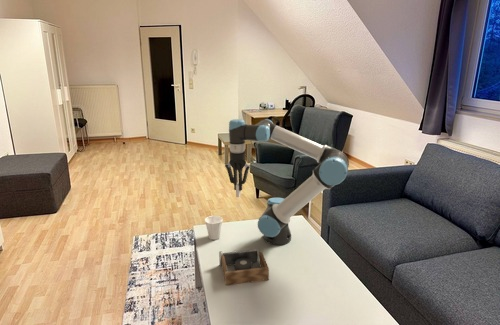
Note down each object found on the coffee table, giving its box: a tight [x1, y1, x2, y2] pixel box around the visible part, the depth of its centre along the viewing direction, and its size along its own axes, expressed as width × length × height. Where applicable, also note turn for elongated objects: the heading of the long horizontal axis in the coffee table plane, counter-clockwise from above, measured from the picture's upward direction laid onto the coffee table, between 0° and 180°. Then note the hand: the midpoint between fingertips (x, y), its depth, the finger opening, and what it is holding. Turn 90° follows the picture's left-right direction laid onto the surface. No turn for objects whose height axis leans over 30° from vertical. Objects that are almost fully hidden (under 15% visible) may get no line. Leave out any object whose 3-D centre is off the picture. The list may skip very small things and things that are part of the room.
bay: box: [221, 251, 270, 286], centre depth 159 cm, size 19×14×6 cm
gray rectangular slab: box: [218, 249, 259, 267], centre depth 166 cm, size 18×2×7 cm, turn 101°
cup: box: [204, 215, 224, 241], centre depth 190 cm, size 10×10×11 cm
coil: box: [234, 258, 253, 271], centre depth 163 cm, size 8×8×4 cm
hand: (238, 196), depth 176 cm, fingers closed
